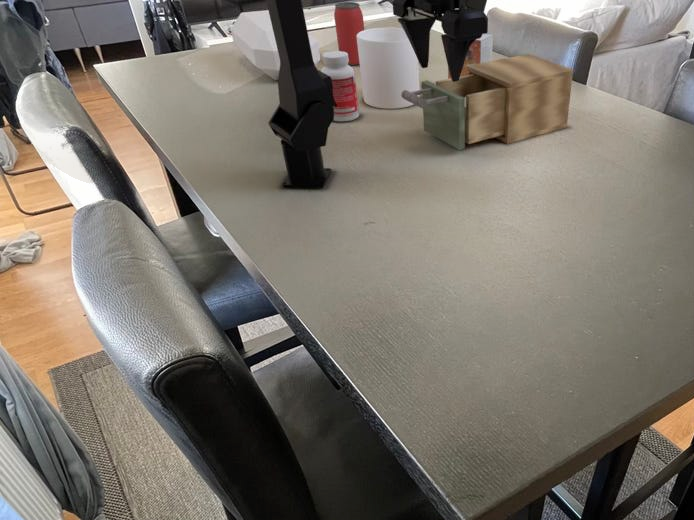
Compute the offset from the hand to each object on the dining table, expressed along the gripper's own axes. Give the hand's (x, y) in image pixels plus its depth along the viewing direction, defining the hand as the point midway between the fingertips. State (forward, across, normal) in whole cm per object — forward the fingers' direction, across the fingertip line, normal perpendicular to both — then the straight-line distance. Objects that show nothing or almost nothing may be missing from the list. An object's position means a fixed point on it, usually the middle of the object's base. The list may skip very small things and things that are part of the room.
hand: (439, 74), depth 97 cm
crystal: (+12, +62, +5) cm, 64 cm away
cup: (+12, +26, -5) cm, 29 cm away
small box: (+11, +23, -23) cm, 34 cm away
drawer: (+11, 0, -4) cm, 11 cm away
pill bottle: (+12, +23, +8) cm, 27 cm away
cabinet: (+11, 0, -17) cm, 21 cm away
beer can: (+12, +56, -12) cm, 58 cm away
